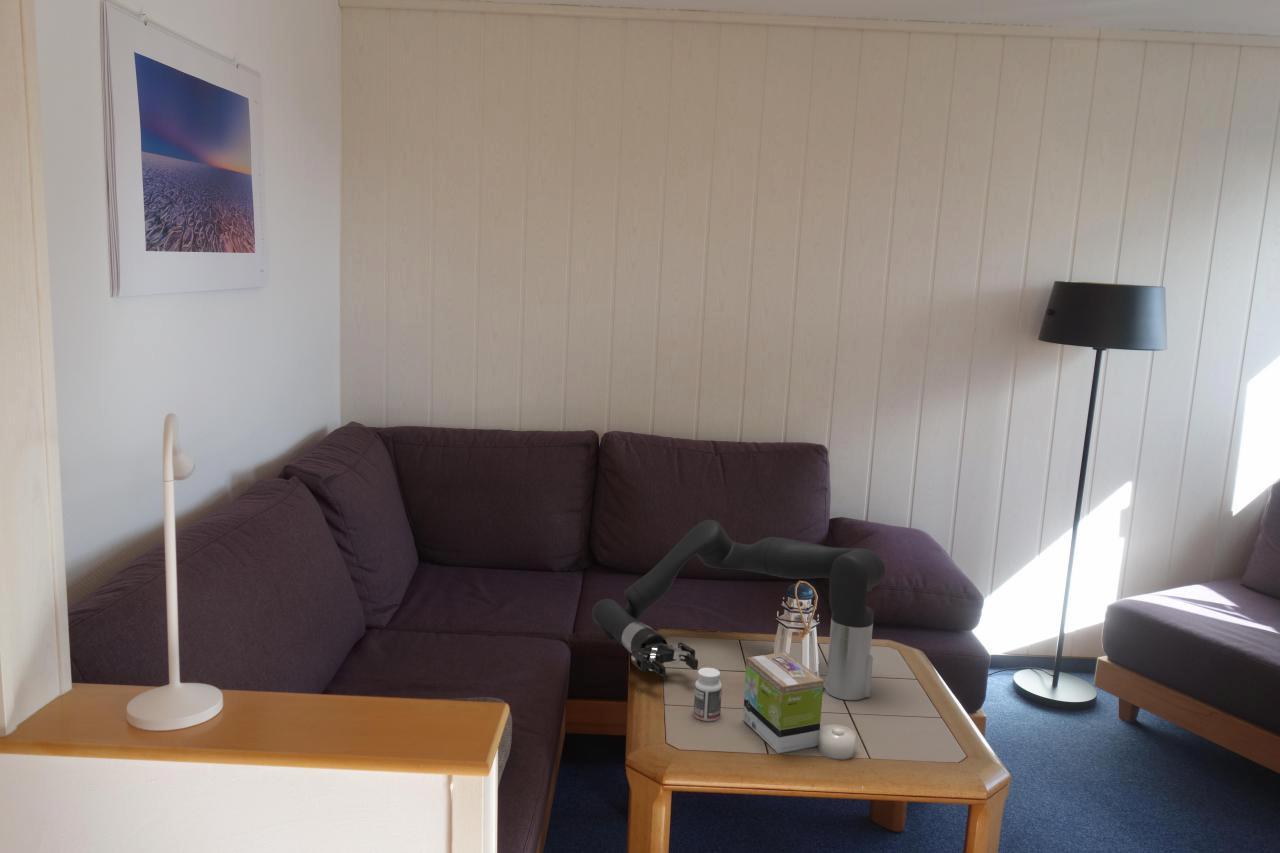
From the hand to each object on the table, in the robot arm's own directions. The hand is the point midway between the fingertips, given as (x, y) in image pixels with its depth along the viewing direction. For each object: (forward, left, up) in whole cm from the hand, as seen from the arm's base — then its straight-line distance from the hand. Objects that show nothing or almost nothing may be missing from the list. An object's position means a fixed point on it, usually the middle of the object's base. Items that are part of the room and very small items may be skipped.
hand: (680, 668), depth 220 cm
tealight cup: (-29, +25, -6) cm, 39 cm away
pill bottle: (-5, +10, -6) cm, 13 cm away
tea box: (-19, +18, -6) cm, 27 cm away
